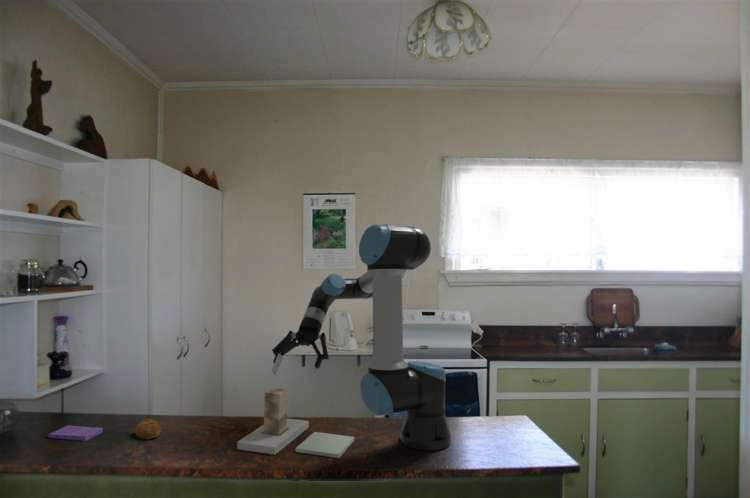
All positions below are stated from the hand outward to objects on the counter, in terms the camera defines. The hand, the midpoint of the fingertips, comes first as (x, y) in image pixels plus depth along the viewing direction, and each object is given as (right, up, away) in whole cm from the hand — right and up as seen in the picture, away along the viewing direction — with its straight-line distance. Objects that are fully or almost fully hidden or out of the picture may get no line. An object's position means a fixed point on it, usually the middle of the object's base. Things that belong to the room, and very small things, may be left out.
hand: (292, 374), depth 146 cm
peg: (-3, -16, -11) cm, 20 cm away
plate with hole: (-3, -16, -11) cm, 20 cm away
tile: (+13, -16, -17) cm, 26 cm away
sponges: (-64, -16, -11) cm, 67 cm away
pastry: (-42, -16, -9) cm, 46 cm away
